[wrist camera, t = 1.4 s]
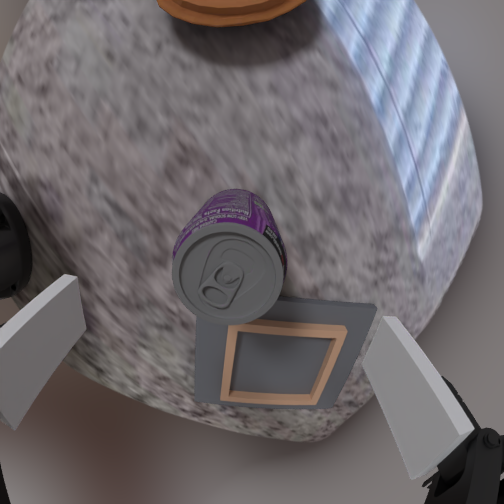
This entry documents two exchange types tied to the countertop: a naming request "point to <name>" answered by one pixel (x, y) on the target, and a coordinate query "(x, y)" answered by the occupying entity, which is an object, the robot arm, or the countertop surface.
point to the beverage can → (230, 259)
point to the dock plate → (281, 355)
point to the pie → (227, 11)
